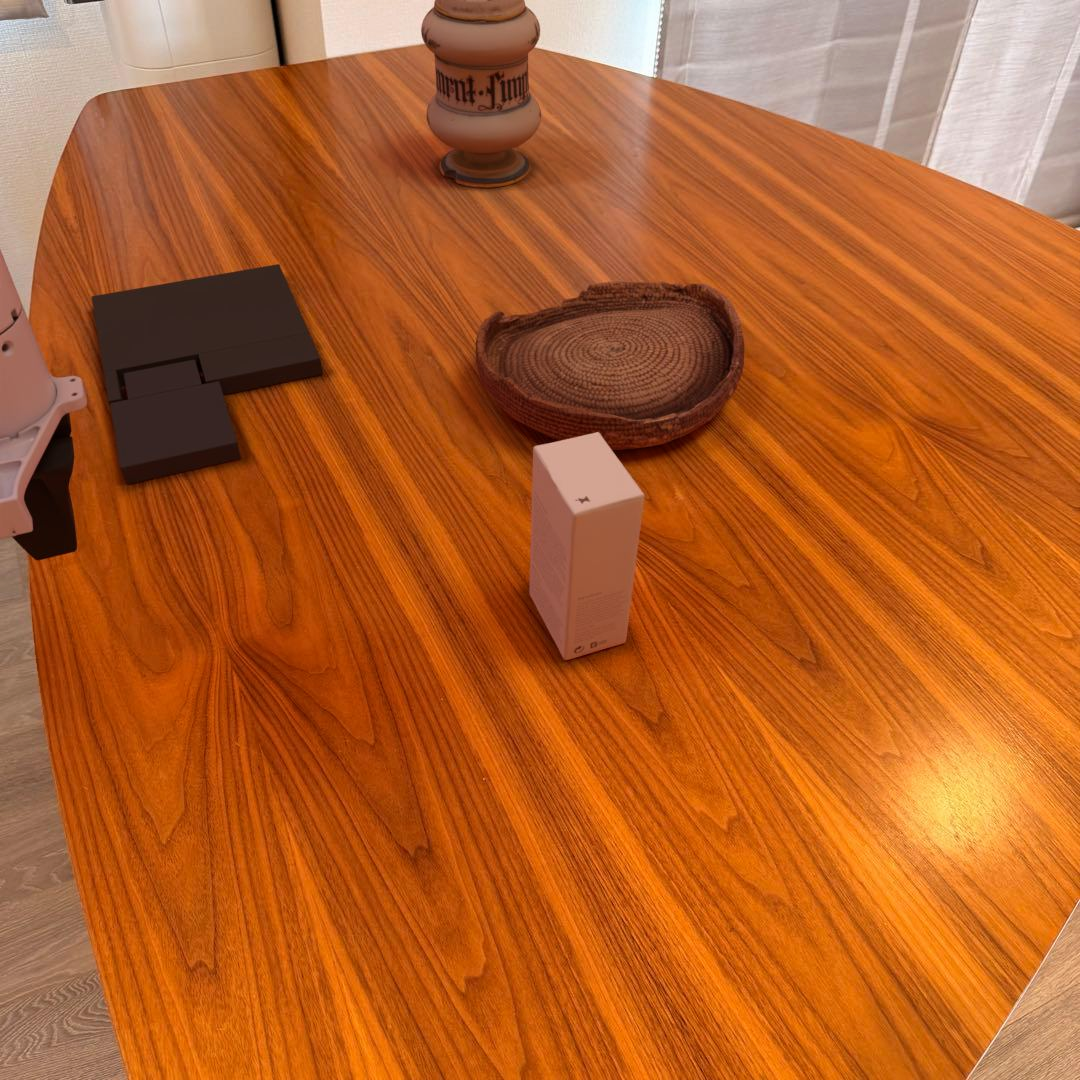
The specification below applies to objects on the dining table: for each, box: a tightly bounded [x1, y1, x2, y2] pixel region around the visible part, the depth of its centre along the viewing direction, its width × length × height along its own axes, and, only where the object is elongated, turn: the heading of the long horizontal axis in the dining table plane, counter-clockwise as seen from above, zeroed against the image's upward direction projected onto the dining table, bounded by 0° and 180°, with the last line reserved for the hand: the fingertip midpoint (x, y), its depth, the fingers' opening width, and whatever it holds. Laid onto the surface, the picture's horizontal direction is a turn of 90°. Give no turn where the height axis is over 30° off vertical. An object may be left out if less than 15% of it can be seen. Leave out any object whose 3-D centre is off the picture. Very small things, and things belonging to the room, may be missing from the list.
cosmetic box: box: [529, 432, 645, 661], centre depth 56 cm, size 6×4×12 cm
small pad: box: [109, 360, 242, 485], centre depth 72 cm, size 8×12×2 cm
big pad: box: [91, 263, 324, 405], centre depth 80 cm, size 16×16×2 cm
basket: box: [475, 280, 745, 451], centre depth 77 cm, size 22×20×5 cm
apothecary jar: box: [420, 0, 542, 189], centre depth 100 cm, size 12×12×18 cm
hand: (55, 547), depth 50 cm, fingers closed
